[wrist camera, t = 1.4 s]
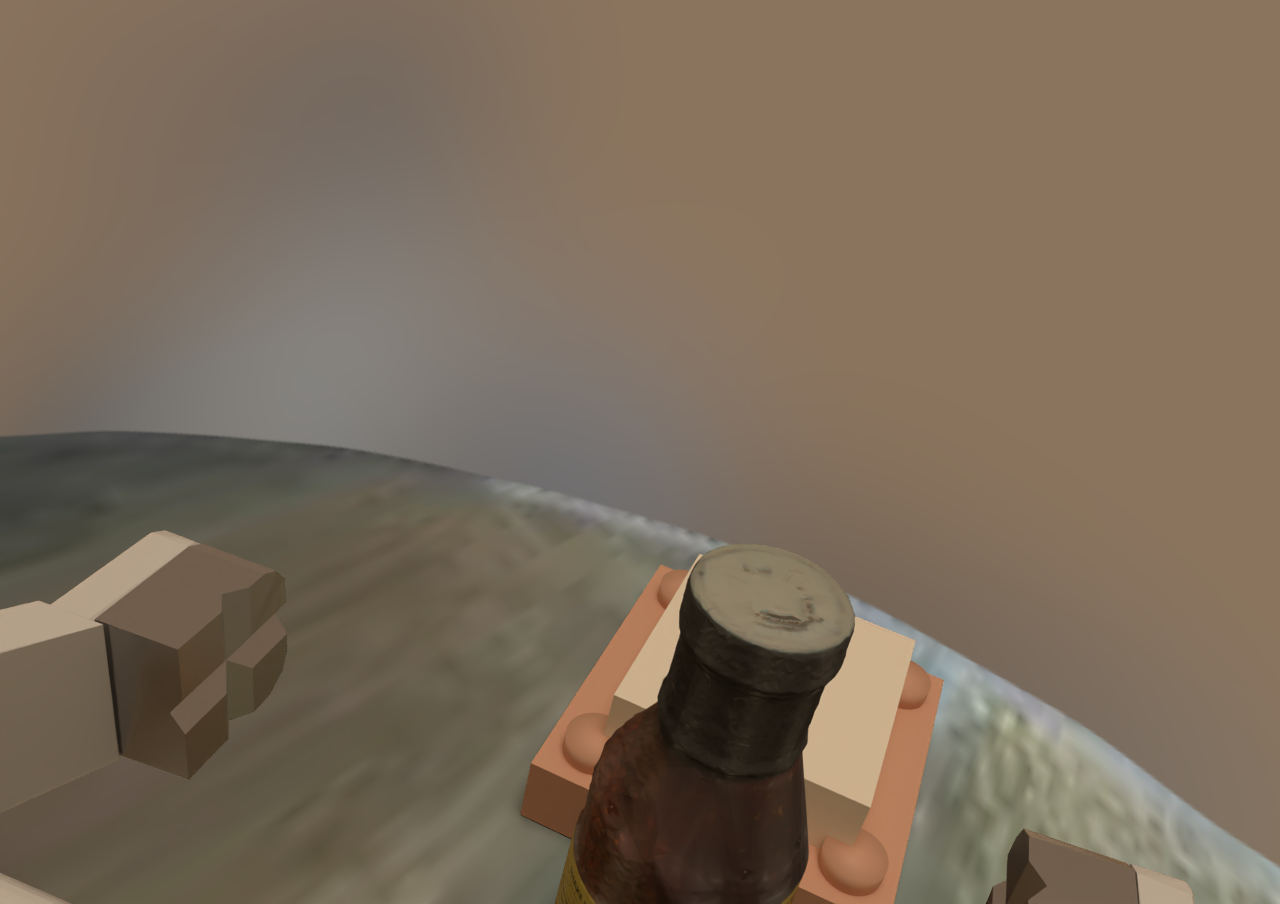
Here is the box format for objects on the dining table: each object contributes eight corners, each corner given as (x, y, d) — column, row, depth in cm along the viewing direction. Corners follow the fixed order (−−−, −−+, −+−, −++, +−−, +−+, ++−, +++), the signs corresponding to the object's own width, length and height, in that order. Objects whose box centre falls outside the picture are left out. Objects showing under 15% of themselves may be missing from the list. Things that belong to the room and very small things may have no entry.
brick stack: (520, 814, 43) (542, 707, 40) (648, 611, 54) (673, 515, 51) (862, 976, 40) (916, 875, 37) (921, 725, 51) (967, 631, 48)
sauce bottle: (652, 1214, 32) (852, 760, 22) (477, 1092, 34) (580, 619, 23) (739, 1030, 37) (934, 590, 27) (582, 933, 39) (707, 485, 29)
